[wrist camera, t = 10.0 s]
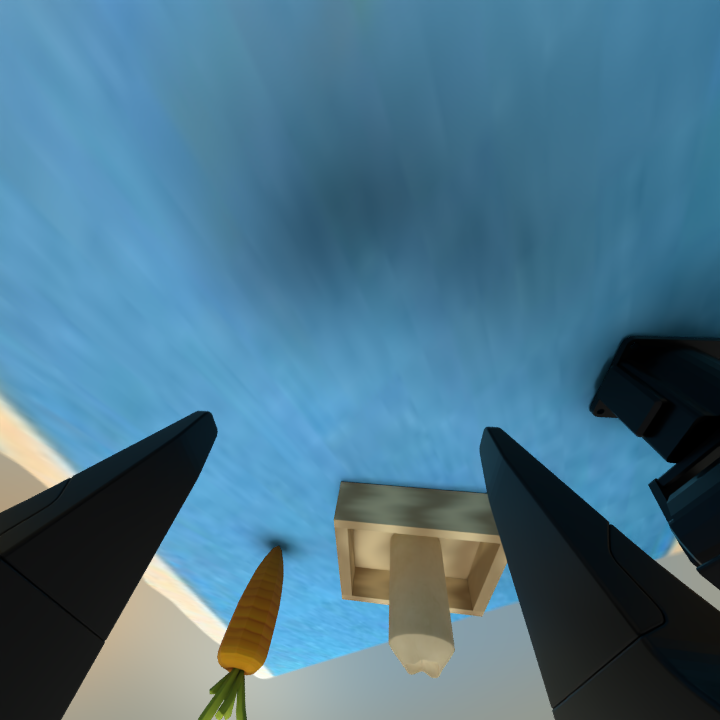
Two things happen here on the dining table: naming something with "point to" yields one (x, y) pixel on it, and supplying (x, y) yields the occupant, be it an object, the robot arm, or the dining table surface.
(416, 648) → the candle
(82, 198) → the dining table surface
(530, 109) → the dining table surface
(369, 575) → the box
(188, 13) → the dining table surface
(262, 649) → the carrot
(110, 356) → the dining table surface
